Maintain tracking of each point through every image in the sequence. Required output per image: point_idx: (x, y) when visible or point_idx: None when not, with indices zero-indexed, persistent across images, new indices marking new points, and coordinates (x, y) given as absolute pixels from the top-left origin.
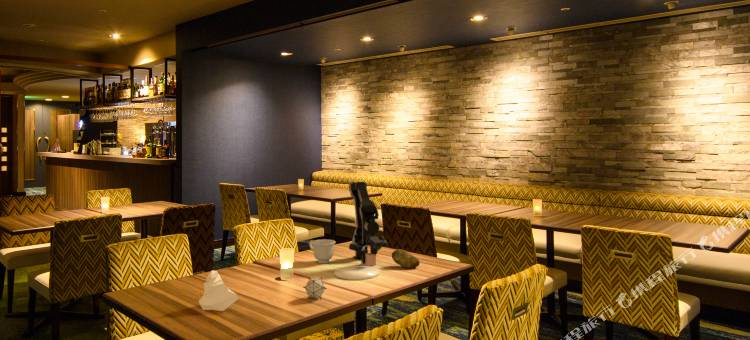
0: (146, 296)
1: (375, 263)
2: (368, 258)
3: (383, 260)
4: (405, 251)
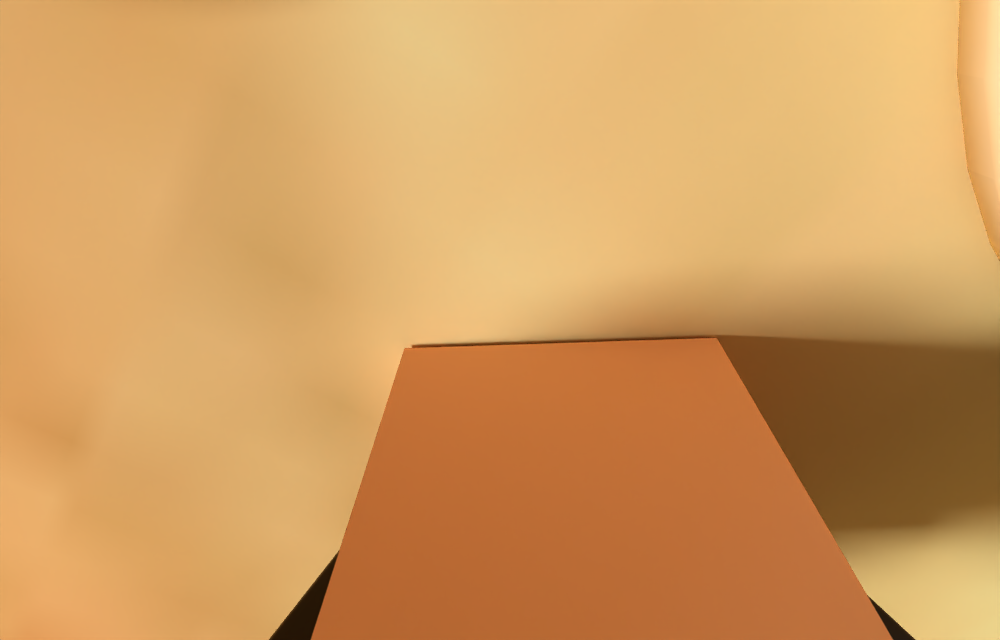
0: None
1: (408, 376)
2: (769, 554)
3: (62, 543)
4: None
